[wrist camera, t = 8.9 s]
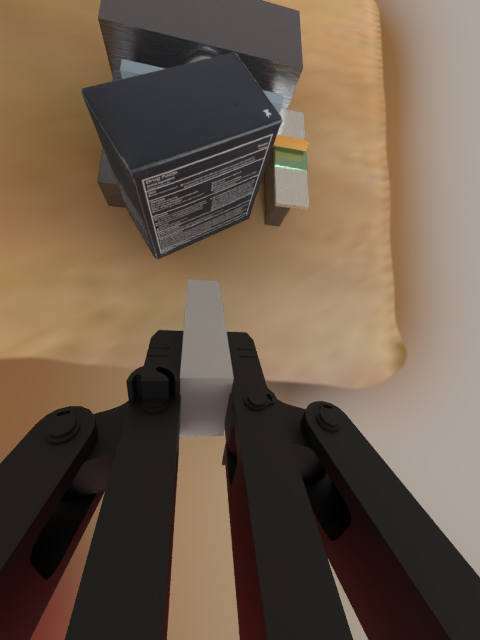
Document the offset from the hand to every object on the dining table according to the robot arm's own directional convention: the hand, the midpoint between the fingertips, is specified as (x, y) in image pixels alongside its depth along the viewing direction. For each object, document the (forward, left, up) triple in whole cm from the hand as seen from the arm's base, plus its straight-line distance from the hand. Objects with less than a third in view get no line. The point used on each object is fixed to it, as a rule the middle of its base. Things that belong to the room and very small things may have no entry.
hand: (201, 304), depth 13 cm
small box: (-12, -1, -10) cm, 16 cm away
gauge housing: (-20, 0, -10) cm, 22 cm away
